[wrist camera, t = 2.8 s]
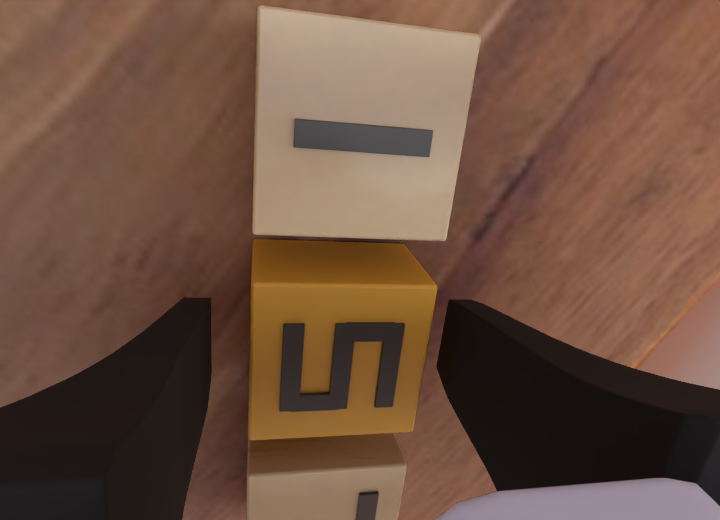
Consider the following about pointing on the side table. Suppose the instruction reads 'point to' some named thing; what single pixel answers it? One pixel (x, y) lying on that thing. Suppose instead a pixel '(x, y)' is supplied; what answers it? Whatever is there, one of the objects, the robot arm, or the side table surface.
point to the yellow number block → (336, 338)
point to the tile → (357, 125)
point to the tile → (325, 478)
